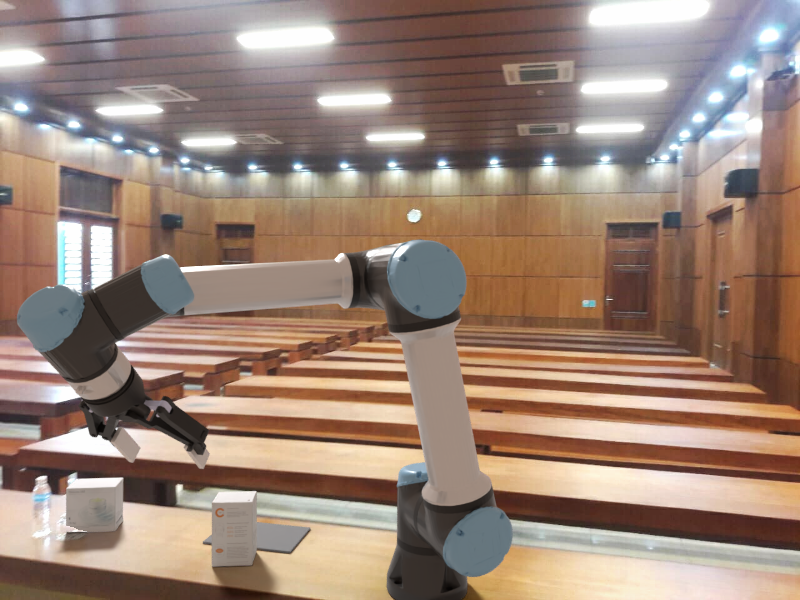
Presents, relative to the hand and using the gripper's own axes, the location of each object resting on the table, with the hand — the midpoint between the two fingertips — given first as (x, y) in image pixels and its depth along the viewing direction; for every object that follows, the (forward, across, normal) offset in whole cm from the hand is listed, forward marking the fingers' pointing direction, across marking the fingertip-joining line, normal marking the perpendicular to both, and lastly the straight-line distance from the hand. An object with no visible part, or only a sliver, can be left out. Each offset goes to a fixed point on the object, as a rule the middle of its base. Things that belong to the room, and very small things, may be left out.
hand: (169, 458), depth 96 cm
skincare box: (+41, -38, +2) cm, 56 cm away
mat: (+44, 0, +5) cm, 44 cm away
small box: (+36, 0, -3) cm, 36 cm away
